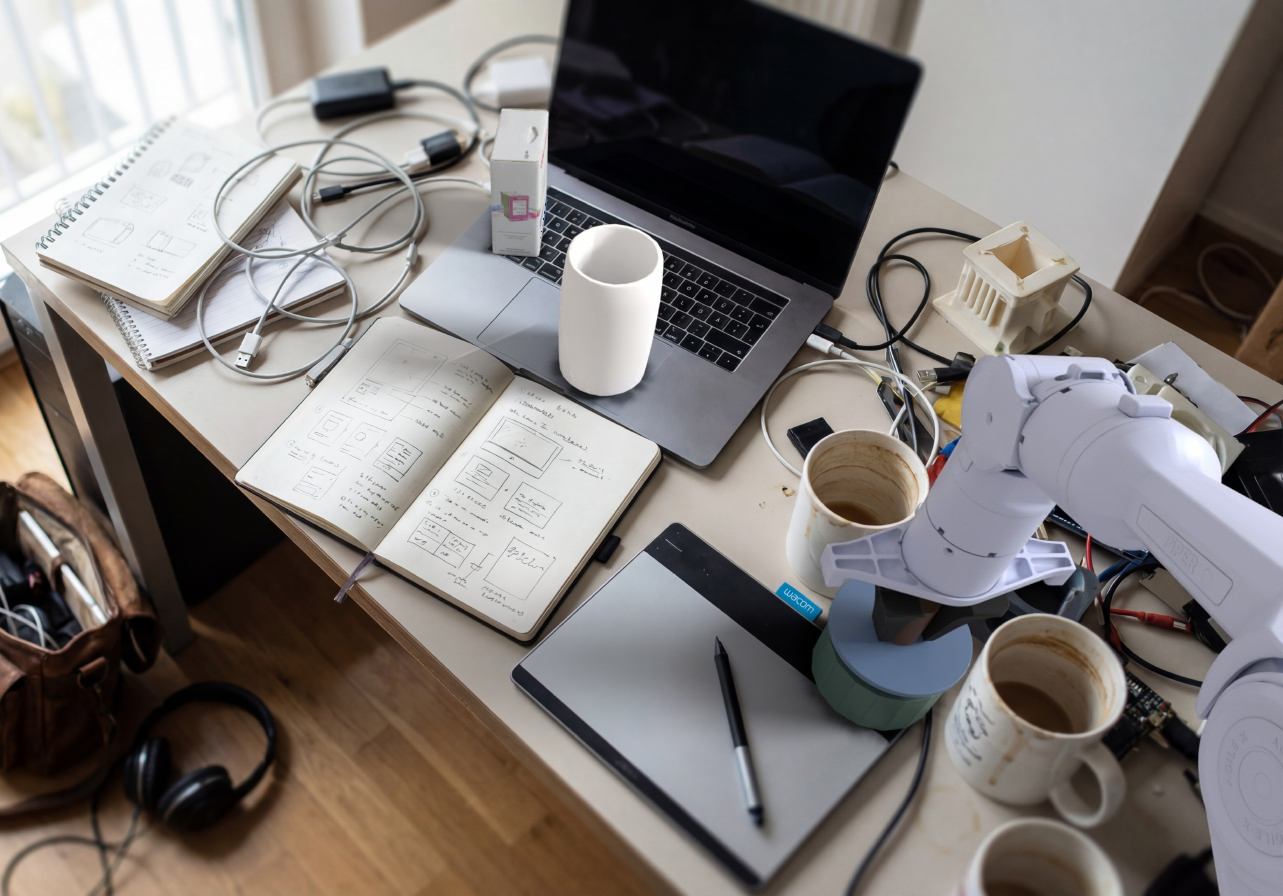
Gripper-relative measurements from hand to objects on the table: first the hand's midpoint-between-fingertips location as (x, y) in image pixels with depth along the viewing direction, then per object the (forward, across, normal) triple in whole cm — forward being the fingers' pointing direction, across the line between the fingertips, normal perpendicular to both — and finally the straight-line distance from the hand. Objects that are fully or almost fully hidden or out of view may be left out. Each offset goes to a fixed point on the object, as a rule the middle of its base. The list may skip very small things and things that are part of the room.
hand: (902, 628), depth 69 cm
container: (+8, 0, 0) cm, 8 cm away
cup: (+8, +18, -30) cm, 36 cm away
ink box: (+8, +24, -50) cm, 57 cm away
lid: (+1, 0, 0) cm, 1 cm away
